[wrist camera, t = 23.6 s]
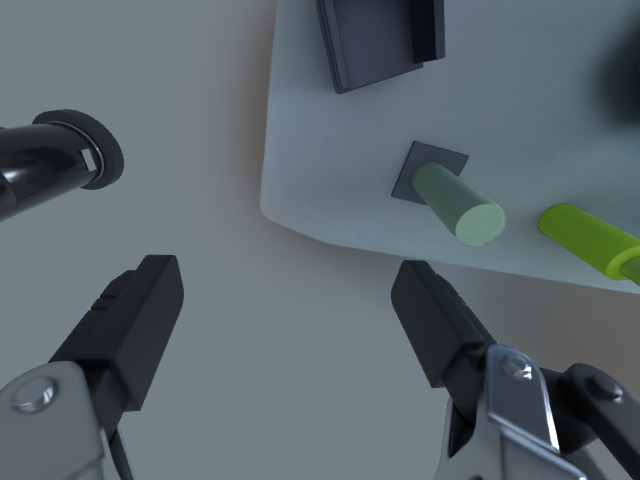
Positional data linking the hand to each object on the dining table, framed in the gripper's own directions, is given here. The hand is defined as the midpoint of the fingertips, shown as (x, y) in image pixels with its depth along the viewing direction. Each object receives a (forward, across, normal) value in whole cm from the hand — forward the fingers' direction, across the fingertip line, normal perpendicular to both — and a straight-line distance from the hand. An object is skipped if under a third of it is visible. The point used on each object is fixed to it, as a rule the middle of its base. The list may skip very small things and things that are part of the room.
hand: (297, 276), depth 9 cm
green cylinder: (+30, +23, -6) cm, 38 cm away
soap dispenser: (+27, +48, -10) cm, 56 cm away
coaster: (+31, +23, -5) cm, 39 cm away
